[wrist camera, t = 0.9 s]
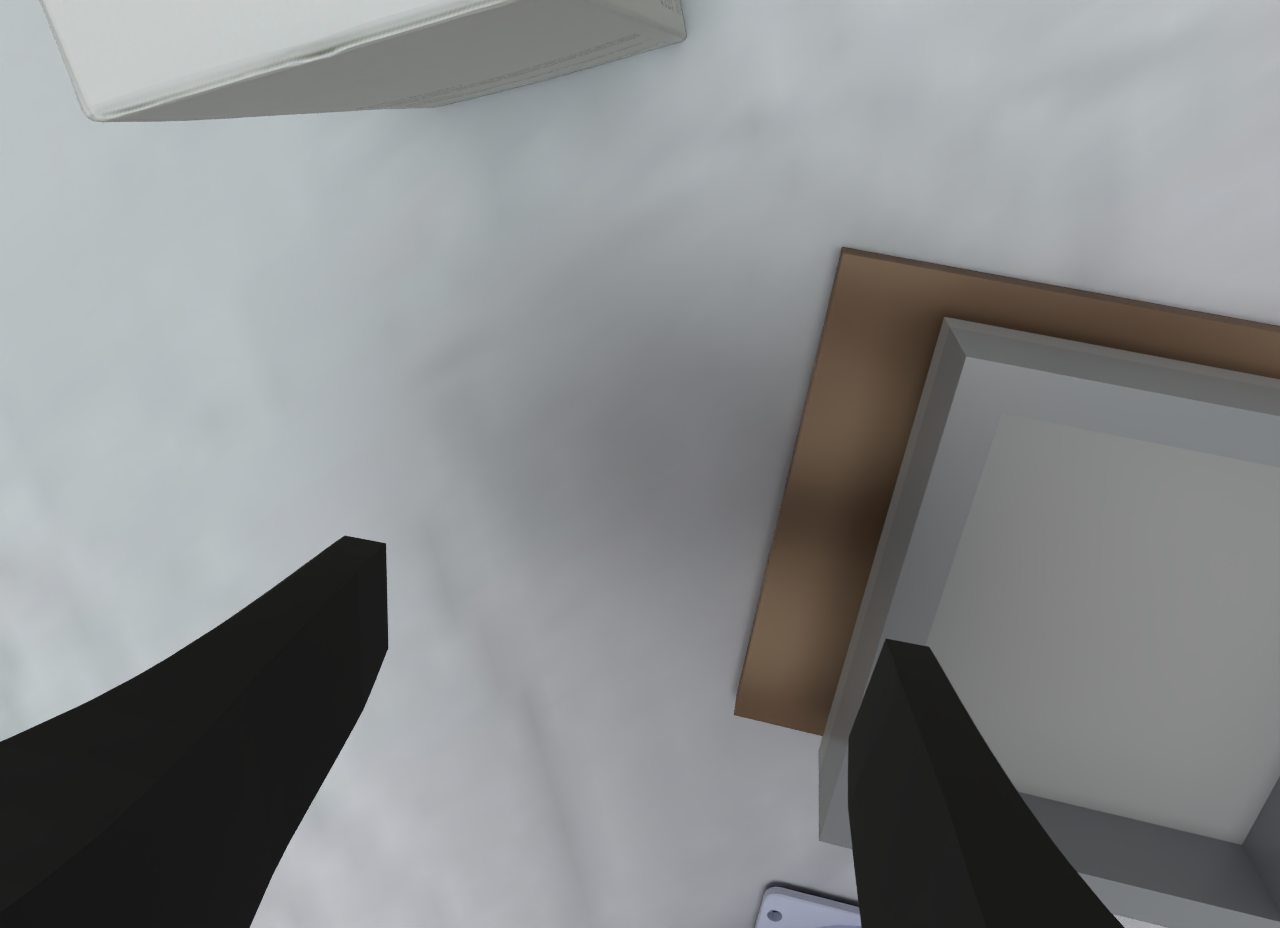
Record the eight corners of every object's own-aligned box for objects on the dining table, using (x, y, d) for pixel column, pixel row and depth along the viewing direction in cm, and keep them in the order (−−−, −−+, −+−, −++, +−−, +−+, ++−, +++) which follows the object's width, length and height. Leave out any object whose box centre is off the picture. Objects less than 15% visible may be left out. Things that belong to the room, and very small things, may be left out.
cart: (1227, 814, 27) (1311, 962, 22) (818, 718, 28) (818, 840, 24) (1449, 398, 22) (1618, 481, 17) (936, 303, 23) (966, 356, 18)
